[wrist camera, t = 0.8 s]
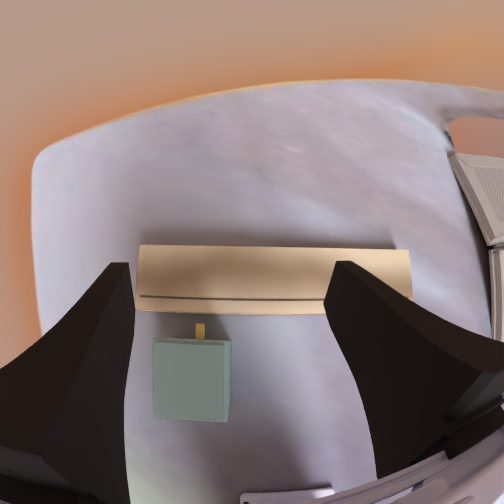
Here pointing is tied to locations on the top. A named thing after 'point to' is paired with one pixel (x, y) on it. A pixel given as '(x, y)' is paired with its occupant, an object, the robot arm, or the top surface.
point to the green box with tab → (192, 378)
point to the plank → (253, 278)
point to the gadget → (487, 218)
